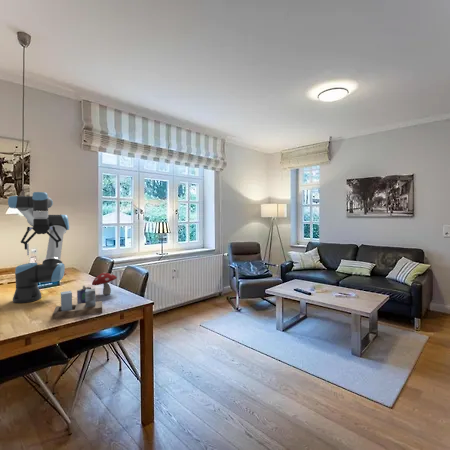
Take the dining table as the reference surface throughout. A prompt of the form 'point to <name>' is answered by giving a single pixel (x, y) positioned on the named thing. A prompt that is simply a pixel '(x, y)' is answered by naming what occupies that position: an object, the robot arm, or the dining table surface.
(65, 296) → the gray rectangular block
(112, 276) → the decorative mushroom
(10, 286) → the dining table surface
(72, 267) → the dining table surface
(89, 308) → the block insertion board
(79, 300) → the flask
